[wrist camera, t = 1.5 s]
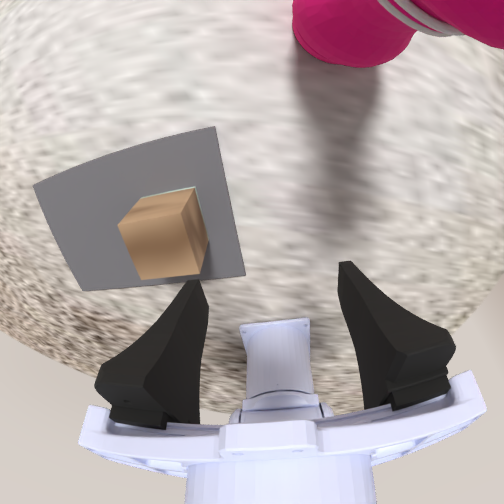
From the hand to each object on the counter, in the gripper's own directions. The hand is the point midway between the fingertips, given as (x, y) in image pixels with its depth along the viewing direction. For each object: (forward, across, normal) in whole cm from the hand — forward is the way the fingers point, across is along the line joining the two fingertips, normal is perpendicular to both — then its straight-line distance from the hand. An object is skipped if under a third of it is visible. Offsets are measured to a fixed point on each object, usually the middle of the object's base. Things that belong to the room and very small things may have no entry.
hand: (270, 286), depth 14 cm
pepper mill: (+11, -7, -14) cm, 19 cm away
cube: (+10, +8, 0) cm, 13 cm away
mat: (+10, +13, 0) cm, 17 cm away
